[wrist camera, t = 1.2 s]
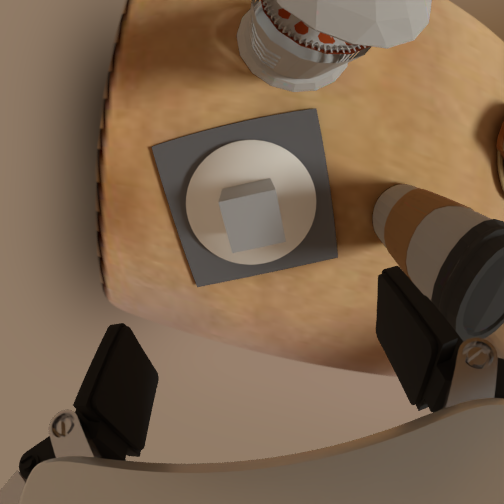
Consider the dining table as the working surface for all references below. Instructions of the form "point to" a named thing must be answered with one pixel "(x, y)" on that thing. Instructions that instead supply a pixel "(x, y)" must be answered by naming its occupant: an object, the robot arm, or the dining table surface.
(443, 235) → the coffee cup
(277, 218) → the lid
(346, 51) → the french press
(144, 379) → the robot arm
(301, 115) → the mat
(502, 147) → the toy sandwich meal
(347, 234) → the dining table surface
